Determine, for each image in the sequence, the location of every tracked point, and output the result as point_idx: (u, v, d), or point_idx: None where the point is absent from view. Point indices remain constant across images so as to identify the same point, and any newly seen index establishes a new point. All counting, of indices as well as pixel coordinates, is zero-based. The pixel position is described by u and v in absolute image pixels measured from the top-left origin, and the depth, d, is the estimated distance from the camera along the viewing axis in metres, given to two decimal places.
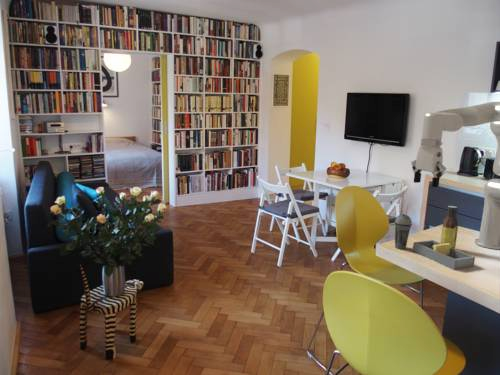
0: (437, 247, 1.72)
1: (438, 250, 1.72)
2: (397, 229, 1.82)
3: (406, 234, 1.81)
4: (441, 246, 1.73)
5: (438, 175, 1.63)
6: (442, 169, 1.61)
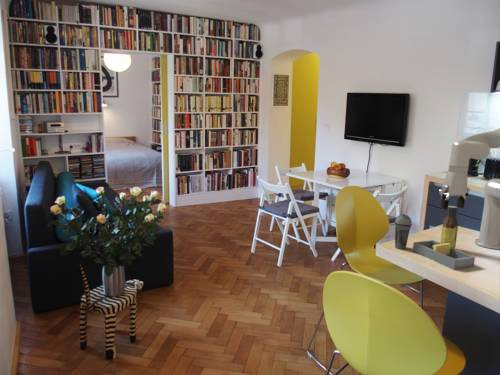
0: (437, 247, 1.72)
1: (438, 250, 1.72)
2: (397, 229, 1.82)
3: (406, 234, 1.81)
4: (441, 246, 1.73)
5: (465, 196, 1.83)
6: (468, 190, 1.83)
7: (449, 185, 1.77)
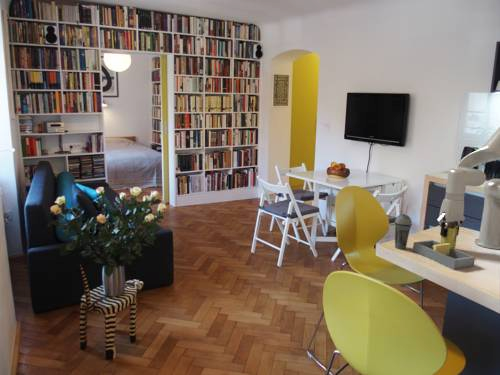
0: (437, 247, 1.72)
1: (438, 250, 1.72)
2: (397, 229, 1.82)
3: (406, 234, 1.81)
4: (441, 246, 1.73)
5: None
6: (463, 218, 1.85)
7: (446, 212, 1.79)
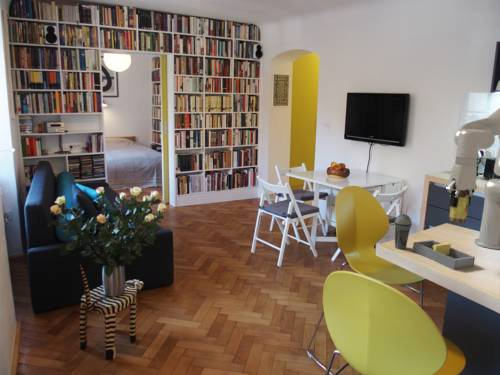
0: (437, 247, 1.72)
1: (438, 250, 1.72)
2: (397, 229, 1.82)
3: (406, 234, 1.81)
4: (441, 246, 1.73)
5: (472, 193, 1.65)
6: (475, 187, 1.65)
7: (456, 179, 1.59)
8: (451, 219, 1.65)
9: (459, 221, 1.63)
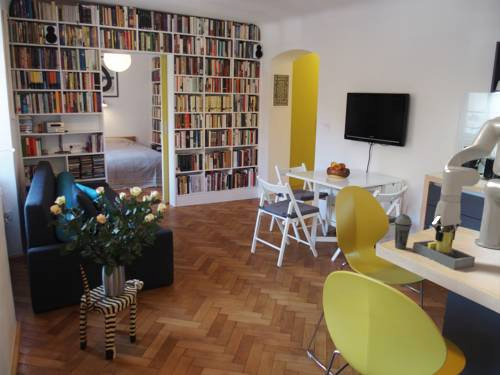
0: (431, 245, 1.74)
1: (432, 248, 1.75)
2: (397, 229, 1.82)
3: (406, 234, 1.81)
4: (435, 244, 1.75)
5: (456, 227, 1.73)
6: (460, 222, 1.73)
7: (441, 215, 1.67)
8: None
9: None
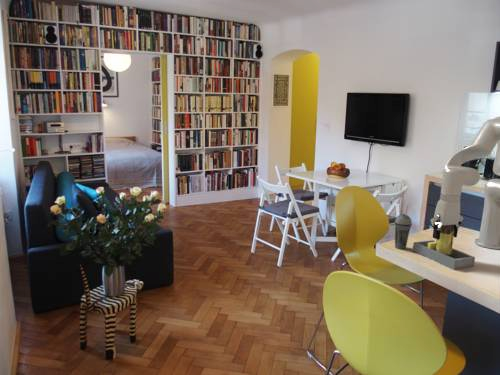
0: (431, 245, 1.74)
1: (432, 248, 1.75)
2: (397, 229, 1.82)
3: (406, 234, 1.81)
4: (435, 244, 1.75)
5: (459, 225, 1.73)
6: (462, 218, 1.73)
7: (441, 215, 1.67)
8: None
9: None
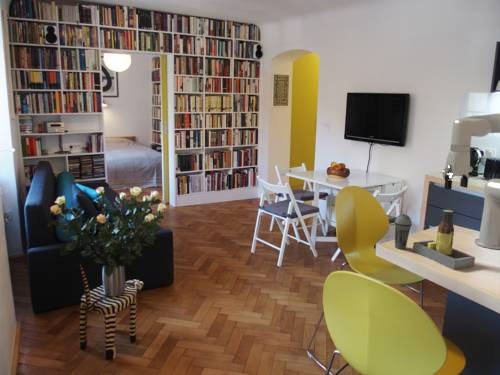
0: (431, 245, 1.74)
1: (432, 248, 1.75)
2: (397, 229, 1.82)
3: (406, 234, 1.81)
4: (435, 244, 1.75)
5: (469, 175, 1.78)
6: (471, 169, 1.78)
7: (452, 165, 1.72)
8: None
9: None
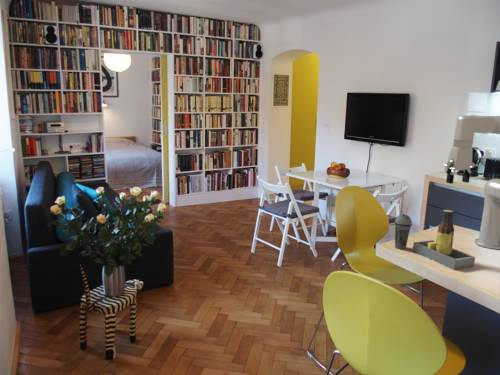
0: (431, 245, 1.74)
1: (432, 248, 1.75)
2: (397, 229, 1.82)
3: (406, 234, 1.81)
4: (435, 244, 1.75)
5: (471, 171, 1.83)
6: (473, 165, 1.84)
7: (454, 159, 1.78)
8: None
9: None
